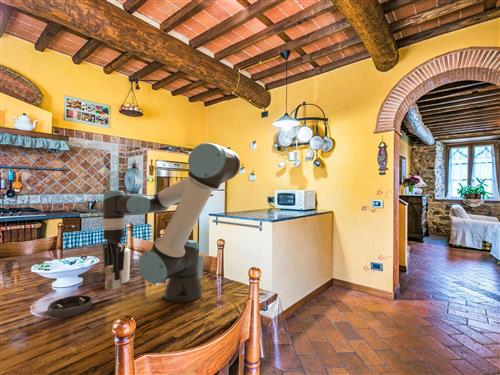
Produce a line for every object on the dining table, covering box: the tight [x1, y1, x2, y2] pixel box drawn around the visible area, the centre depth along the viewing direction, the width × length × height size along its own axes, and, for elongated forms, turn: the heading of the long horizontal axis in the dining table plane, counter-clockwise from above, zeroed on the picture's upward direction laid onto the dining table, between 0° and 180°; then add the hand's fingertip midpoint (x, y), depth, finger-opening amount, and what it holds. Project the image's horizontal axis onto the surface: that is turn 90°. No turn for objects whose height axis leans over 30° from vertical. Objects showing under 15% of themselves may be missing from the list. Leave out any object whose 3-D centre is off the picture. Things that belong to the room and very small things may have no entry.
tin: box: [47, 294, 94, 318], centre depth 93 cm, size 13×13×2 cm
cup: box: [198, 255, 205, 280], centre depth 129 cm, size 8×8×10 cm
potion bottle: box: [121, 242, 131, 285], centre depth 122 cm, size 8×8×18 cm
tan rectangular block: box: [104, 265, 123, 291], centre depth 104 cm, size 3×5×9 cm, turn 145°
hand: (113, 287), depth 104 cm, fingers closed on tan rectangular block, 3 cm apart
